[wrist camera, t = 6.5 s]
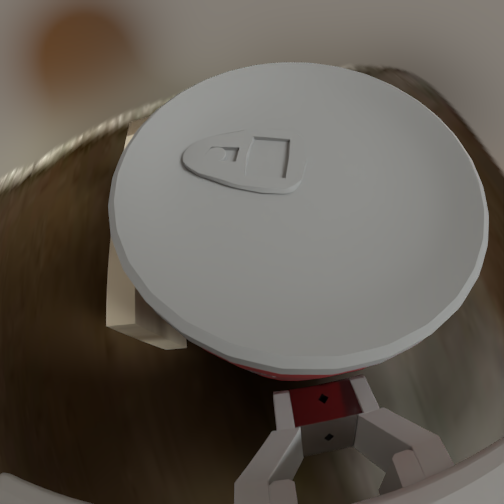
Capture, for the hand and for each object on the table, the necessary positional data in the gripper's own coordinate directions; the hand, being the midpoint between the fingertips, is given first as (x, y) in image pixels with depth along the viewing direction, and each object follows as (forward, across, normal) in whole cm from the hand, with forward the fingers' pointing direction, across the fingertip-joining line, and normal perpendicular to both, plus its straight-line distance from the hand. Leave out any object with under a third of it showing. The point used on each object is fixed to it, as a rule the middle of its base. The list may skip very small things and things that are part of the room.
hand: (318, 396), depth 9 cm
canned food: (+7, 0, 0) cm, 7 cm away
